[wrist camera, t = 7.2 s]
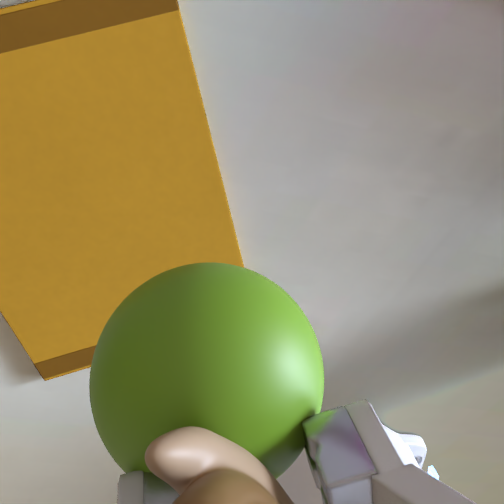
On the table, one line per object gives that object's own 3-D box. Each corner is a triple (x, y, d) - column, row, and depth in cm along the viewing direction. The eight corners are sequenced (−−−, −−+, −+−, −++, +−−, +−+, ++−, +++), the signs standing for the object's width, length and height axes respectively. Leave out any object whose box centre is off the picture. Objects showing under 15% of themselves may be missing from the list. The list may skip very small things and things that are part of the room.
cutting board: (255, 313, 31) (256, 317, 31) (45, 376, 30) (44, 381, 30) (168, -32, 20) (169, -32, 20) (-164, 47, 19) (-170, 48, 19)
